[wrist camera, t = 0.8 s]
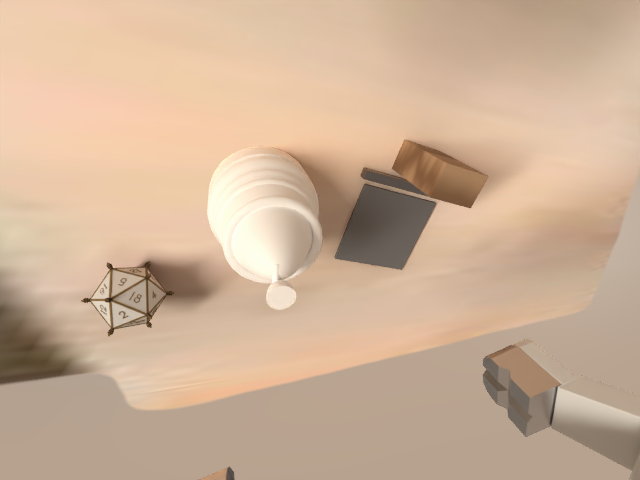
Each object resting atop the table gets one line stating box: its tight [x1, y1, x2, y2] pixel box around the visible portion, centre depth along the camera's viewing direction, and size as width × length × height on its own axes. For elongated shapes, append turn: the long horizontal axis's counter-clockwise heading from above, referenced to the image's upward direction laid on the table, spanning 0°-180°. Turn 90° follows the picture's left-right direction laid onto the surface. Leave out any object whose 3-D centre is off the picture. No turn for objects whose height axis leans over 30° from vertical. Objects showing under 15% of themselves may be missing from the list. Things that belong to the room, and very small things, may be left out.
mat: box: [335, 184, 436, 270], centre depth 50 cm, size 12×12×1 cm
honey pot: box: [207, 146, 323, 309], centre depth 36 cm, size 13×13×18 cm
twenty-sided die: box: [81, 262, 174, 336], centre depth 41 cm, size 9×8×10 cm
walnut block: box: [392, 140, 488, 208], centre depth 42 cm, size 4×6×10 cm, turn 71°
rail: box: [361, 168, 427, 196], centre depth 47 cm, size 1×14×1 cm, turn 72°
